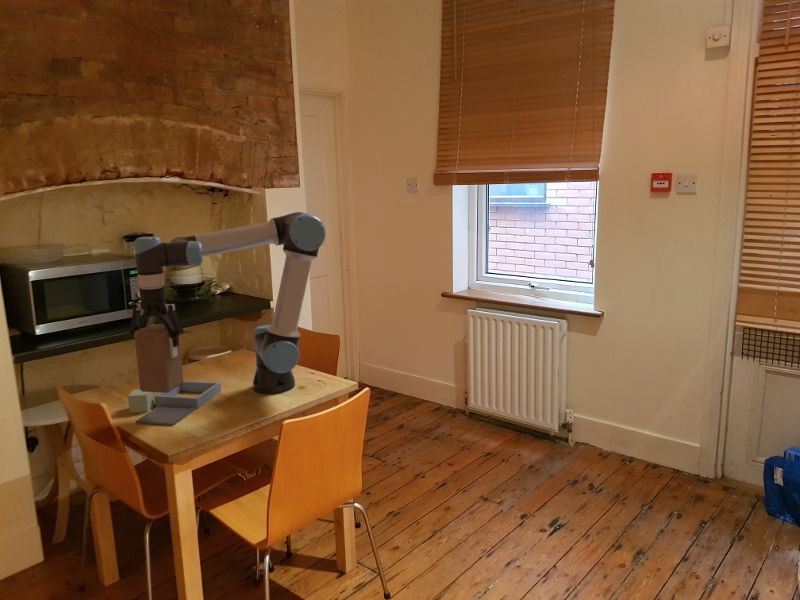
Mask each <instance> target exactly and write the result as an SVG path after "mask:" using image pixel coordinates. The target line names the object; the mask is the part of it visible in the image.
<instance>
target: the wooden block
mask: <svg viewBox="0 0 800 600" xmlns="http://www.w3.org/2000/svg"><path fill="white" fill-rule="evenodd" d="M133 337H134V346H135V354H136V362H137V363H136V364H137V372H138V380H139V381H138V383H139V389H140V390H141V391H143V392H153V393H168V392H170V391H171V390H173V389H175V388H176V387H178V386H179V385H181V384H183V381H184V375H183V362H182V361H183V360H182V354H181V353H182V352H181V343H180V335H179V336H178V341H179V346H177V353H178V355H177V356H176V357H174V358H171V352H170V342H169V338H170V337H171V335H170V334H169V332H168V330H167V329H166V327H165V326H164V324H163V323H162V324H159V323H158V324H156V323H151V324H149V325H146V327H144V328H142V329H139V330H137V331H135V332H134V334H133Z"/></svg>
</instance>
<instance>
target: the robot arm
mask: <svg viewBox="0 0 800 600" xmlns="http://www.w3.org/2000/svg"><path fill="white" fill-rule="evenodd" d="M325 238H326V228H325V225H324V224H323V222H322V221H321V220H320V218H318V217H317V216H315V215H314V214H311V213H305V212H300V211H296V212H291V213H288V214H284V215H281V216H277V217H273V218H270V219H269V220H268V221H267V222H261V223H257V224H256V223H255V224H250V225H245V226H238V227H234V228H229V229H227V228H226V229H222V230H221V229H220V230H217V231H211V232H206V233H200V234H195V235H189V236H185V237H184V236H179V237H178V236H177V237H175V238H173V239H172V240H171V241H170V242H162V240H161V238H160V237H159V236H140V237H137V238H136V239H135V240H134V254H135V255H134V256H135V265H136V272H137V283H138V284H137V285H138V287H139V289H138V291H139V292H138V293H139V300H140V301H141V302H136V303H133V304H132V305H131V309H132V315H131V316H132V317H131V322H130V328H129V334H131V335H134V332H135V331H137V330H139V329H142V328H144V327H147V326H148V322H149V321H150V318H151V317H154V318H158V319H159V320H160V321H161V322H162V324H164V326H165V327H166V329H167V330H168V332H169V334H170V335H171V337H170V338H169V342H170V352H171V358H174V357H176V356H177V355H178V353H177V346H179V341H178V336H179V337H180V335H183V334H184V329H183V326H182V324H181V320H180V318H179V315H178V312H177V304H175V303H172V304H170V303H167V301H166V297H167V293H166V287H165V286H164V285H166V284H165V274H164V268H169V267H170V268H171V267H185V266H190V267H192V266H196V265H202V264H203V259H204V257H208V256H214V255H218V254H223V253H229V252H234V251H240V250H245V249H251V248H255V247H256V248H257V247H260V246H262V247H263V246H266V245H271V244H272V245H275V246H282V245H283V247H282V251H283V252H284V255H285V260H284V265H283V270H282V274H281V279H280V284H279V289H278V293H277V299H276V303H275V308H274V313H273V318H272V323H271V324H266V325H265V324H264V325H261V326H257V327H255V328H254V330H253V331H254V332H253V337H254V347H255V362H256V363H255V364H256V369H255V373H254V377H253V381H252V390H253V391H255V392H258V393H261V394H279V393H284V392H287V391H290V390H292V389H294V387H295V386H296V379H295V376H294V373H293V372H292V370H293V369H295V368H296V366H297V365H298V363H299V361H300V350H299V344H300V343H299V342H300V340H301V339H300V338H301V333H300V332H299V331H298V326H299V322H300V318H301V312H302V308H303V302H304V297H305V294H306V289H307V285H308V279H309V275H310V271H311V270H310V269H311V266H312V265H311V264H312V262H313V260H315V259H317V258H318V254H319V250H320V247H322V245H323V243H324V242H325ZM142 311H143V312H142ZM141 312H142V315H141ZM140 318H141V319H140Z"/></svg>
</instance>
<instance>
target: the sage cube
mask: <svg viewBox="0 0 800 600" xmlns="http://www.w3.org/2000/svg"><path fill="white" fill-rule="evenodd" d="M127 401H128V411H129V413H131V414H133V413H149V412H150V411H151V409H152V408H153V407H154V406H155V398H154V392H143V391H141V390H140V388H139V389H138V388H137V389H133V390H132V391H131V392H130V393H129V394H128V395H127Z"/></svg>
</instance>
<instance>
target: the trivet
mask: <svg viewBox="0 0 800 600" xmlns="http://www.w3.org/2000/svg"><path fill="white" fill-rule="evenodd" d="M195 409H196V408H188V407H171V406H156V407H155V408H154V409H152V410H149V412H146V414H143V416H141V417H140V418H138V419H136V420H135V424H138V425H139V424H141V425H142V424H144V425H152V426H153V425H154V426H155V425H156V426H170V427H173V426H176V424H178V423H179V422H181V421H182V420H183V419H184V418H186V417H188V416H189V415H190V414H192V413H193V412H194V411H196V410H195Z"/></svg>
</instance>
